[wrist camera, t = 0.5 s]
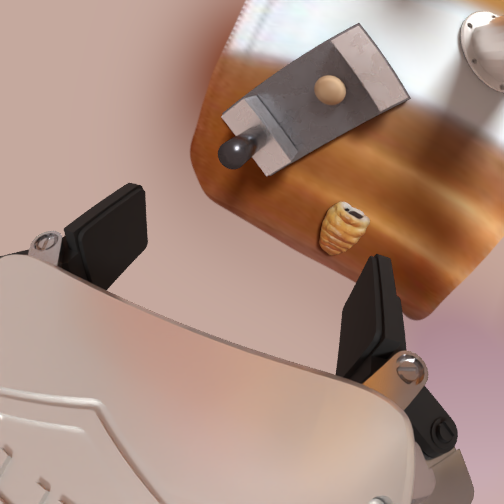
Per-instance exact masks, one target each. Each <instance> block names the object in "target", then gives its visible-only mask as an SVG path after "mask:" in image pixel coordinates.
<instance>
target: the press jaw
mask: <svg viewBox="0 0 504 504" xmlns="http://www.w3.org/2000/svg"><path fill="white" fill-rule="evenodd" d="M221 117H222V119H223V120H224V121H225V123H226V124H227V125H228V126H229V128H230V129H231V130H232V131H233V133H234V134H235V135H236V136H235V137H234V138H232V139H230V140H229V141H227V142H225V143H224V144H222V145H221V146H220V148H219V150H218V158H219V160H220V162H221V163H222V165H223V166H225V167H226V168H229V169H237V168H240V167H241V166H242V165H243V164H244V163H246V162H247V161H248V160H249V159H250V158H251V157H252V158H253V159H254V160H255V162H256V163H257V164H258V166H259V167H260V168H261V170H262V171H263V172H264V174H265V175H266V176H268V175H270V174H272V173H273V172H275V171H277V170H278V169H280V168H282V167H283V166H285V165H287V164H288V163H290V162H291V161H292V160H293V158H294V157H295V155H296V154H297V152H298V151H297V149H296V148H295V147H294V145H293V144H292V142H291V141H290V140H289V138H288V137H287V135H286V134H285V133H284V131H283V130H282V129H281V127H280V126H279V124H278V123H277V122H276V120H275V119H274V118H273V116H272V115H271V114H270V113H269V111H268V110H267V109H266V107H265V106H264V105H263V103H262V102H261V101H260V100H259V98H258V97H257V96H252V97H248V98H244V99H242V100H241V101H240V102H239V103H237V104H236V105H235V106H234V107H232V108H231V109H230V110H228V111H227V112H226V113H225V114H224V115H222V116H221Z"/></svg>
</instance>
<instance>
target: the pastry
mask: <svg viewBox="0 0 504 504" xmlns="http://www.w3.org/2000/svg"><path fill="white" fill-rule="evenodd" d="M369 224H370V220H369V218H368V217H367V216H366V215H364V213H363V212H362V211H360V210H358V209H356V208H353V207H351V205H350V204H348V203H346V202H338V203H336V204H335V205H334V206H332V207H331V208H330V209H329V210H328V211H327V214H326V216H325V219H324V220H323V222H322V227H321V233H320V240H319V243H320V246H321V248H322V249H323V250H324V251H325V252H327V253H328V254H329V255H338V254H340V253H343V252H345V251H346V250H347V249H349V248H351V247H352V246H353V245H354V244H356V243H357V242H358V240H359V238H360V237H362V236H363V235H364V234H365V231H366V228H367V226H368V225H369Z"/></svg>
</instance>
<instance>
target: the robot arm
mask: <svg viewBox="0 0 504 504" xmlns="http://www.w3.org/2000/svg"><path fill="white" fill-rule="evenodd" d="M492 18H493V19H492ZM467 25H468V26H469V27H468V26H467ZM461 44H462V49H463V52H464V55H465V57H466V59H467V61H468V63H469V65H470V67H471V68H472V70H473V71H474V73H475V74H476V75H477V76H478V77H479V79H480V80H482V81H483V82H484V83H485V84H486V85H488V86H489V87H490V88H492V89H494V90H496V91H499V92H503V93H504V16H498V15H496V14H494V13H491V12H486V11H479V12H475V13H472V14H471V15H469V16H468V17H467V18H466V19H465V20H464V22H463V25H462V27H461ZM472 60H473V62H472ZM64 232H65V236H64V237H63V238H62V235H61V234H60V233H59V232H56V231H48V232H44V233H42V234H40V235H38V236H37V237H36V238H35V239H34V240H33V241H32V243H31V246H30V249H29V250H25V251H21V252H17V253H12V254H8V255H4V256H0V504H471V502H472V500H473V497H474V488H473V484H472V481H471V479H470V475H469V473H468V470H467V467H466V465H465V462H464V459H463V456H462V454H461V451H460V449H458V450H456V449H455V444H456V442H457V437H458V435H457V428H456V425H455V423H454V421H453V420H452V419H451V417H449V415H448V414H447V412H446V411H445V410H444V409H443V408H442V406H441V405H440V404H439V403H438V401H437V400H436V399H435V398H434V396H433V395H432V394H431V393H430V392H429V390H428V389H427V388H426V387H425V386H424V385H425V384H426V382H427V380H428V370H427V367H426V365H425V363H424V361H423V360H422V359H421V358H420V357H419V356H418V355H417V354H415V353H413V352H411V351H406V342H405V331H404V322H403V314H402V307H401V300H400V298H399V297H398V296H397V295H396V288H395V282H394V276H393V270H392V264H391V259H390V258H388V257H385V256H382V255H379V254H376V255H375V256H374V257H373V256H370V257H369V259H368V261H367V263H366V265H365V267H364V269H363V271H362V273H361V275H360V277H359V279H358V281H357V283H356V285H355V286H354V288H353V290H352V292H351V294H350V296H349V298H348V300H347V301H346V303H345V306H344V308H343V311H342V321H341V332H340V343H339V352H338V361H337V368H336V375H334V374H330V373H327V372H324V371H321V370H317V369H313V368H310V367H307V366H303V365H300V364H297V363H294V362H290V361H287V360H284V359H281V358H277V357H274V356H271V355H268V354H265V353H262V352H259V351H256V350H253V349H249V348H247V347H243V346H241V345H238V344H235V343H232V342H230V341H227V340H224V339H221V338H219V337H216V336H213V335H210V334H208V333H205V332H202V331H200V330H197V329H195V328H192V327H189V326H187V325H184V324H182V323H179V322H177V321H174V320H172V319H169V318H167V317H165V316H162V315H160V314H158V313H155V312H153V311H151V310H148V309H146V308H143V307H141V306H139V305H137V304H134V303H132V302H130V301H128V300H125V299H123V298H121V297H119V296H117V295H115V294H112V293H110V292H108V291H106V290H107V289H108V288H109V287H110V286H111V285H112V284H113V283H114V281H115V280H116V279H117V278H118V277H119V276H120V275H121V274H122V273H123V272H124V270H126V268H127V267H128V266H129V265H130V264H131V263H132V262H133V261H134V260H135V259H136V258H137V257H138V256H139V255H140V254H141V253H142V252H143V251H144V250H145V248H146V247H147V243H148V240H147V239H148V238H147V222H146V202H145V191H144V190H143V188H142V186H141V185H137V184H132V183H128V184H126V185H124V186H123V187H121V188H120V189H118V190H117V191H115V192H114V193H112V194H111V195H109V196H108V197H106V198H105V199H104V200H102V201H101V202H99V203H98V204H96V205H95V206H94V207H92V208H91V209H89V210H88V211H87V212H85V213H84V214H82V215H81V216H80V217H78V218H77V219H76V220H74V221H73V222H72V223H70V224H69V225H68V226H67V227H65V228H64Z"/></svg>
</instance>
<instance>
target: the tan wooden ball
mask: <svg viewBox="0 0 504 504" xmlns="http://www.w3.org/2000/svg"><path fill="white" fill-rule="evenodd" d="M314 92H315V95H316V97H317V98H318V99H319V100H320V101H321V102H322V103H324V104H327V105H336V104H338V103H340V102H341V101H342V100H343V99H344V98H345V95H346V88H345V85H344V83H343V82H342V81H341V80H340V79H339V78H337V77H335V76H331V75H327V76H323V77H321V78H319V79H318V80H317V82H316V83H315V86H314Z"/></svg>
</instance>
